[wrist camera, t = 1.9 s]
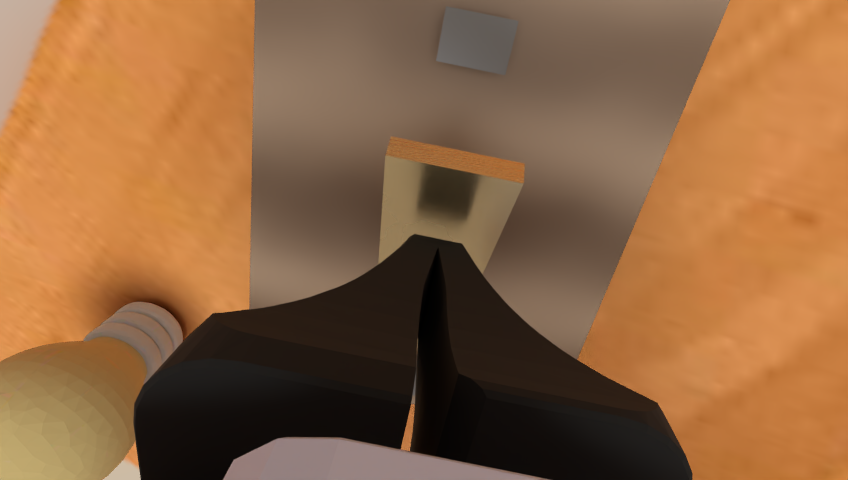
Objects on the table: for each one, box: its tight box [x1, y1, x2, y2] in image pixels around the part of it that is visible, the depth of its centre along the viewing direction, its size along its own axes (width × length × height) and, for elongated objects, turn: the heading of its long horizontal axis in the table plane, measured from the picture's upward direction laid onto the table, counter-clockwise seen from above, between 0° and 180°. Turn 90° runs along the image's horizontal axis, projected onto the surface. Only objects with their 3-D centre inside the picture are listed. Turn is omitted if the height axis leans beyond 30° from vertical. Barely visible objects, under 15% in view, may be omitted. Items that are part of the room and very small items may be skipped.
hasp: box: [378, 136, 525, 345], centre depth 14 cm, size 11×3×1 cm
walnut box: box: [249, 0, 730, 404], centre depth 18 cm, size 18×14×6 cm
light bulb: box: [0, 302, 183, 480], centre depth 20 cm, size 6×6×10 cm
